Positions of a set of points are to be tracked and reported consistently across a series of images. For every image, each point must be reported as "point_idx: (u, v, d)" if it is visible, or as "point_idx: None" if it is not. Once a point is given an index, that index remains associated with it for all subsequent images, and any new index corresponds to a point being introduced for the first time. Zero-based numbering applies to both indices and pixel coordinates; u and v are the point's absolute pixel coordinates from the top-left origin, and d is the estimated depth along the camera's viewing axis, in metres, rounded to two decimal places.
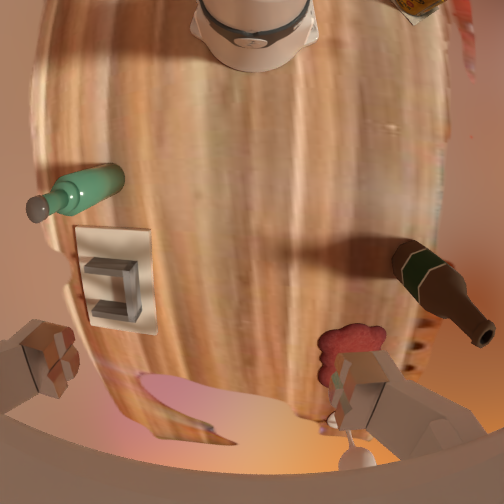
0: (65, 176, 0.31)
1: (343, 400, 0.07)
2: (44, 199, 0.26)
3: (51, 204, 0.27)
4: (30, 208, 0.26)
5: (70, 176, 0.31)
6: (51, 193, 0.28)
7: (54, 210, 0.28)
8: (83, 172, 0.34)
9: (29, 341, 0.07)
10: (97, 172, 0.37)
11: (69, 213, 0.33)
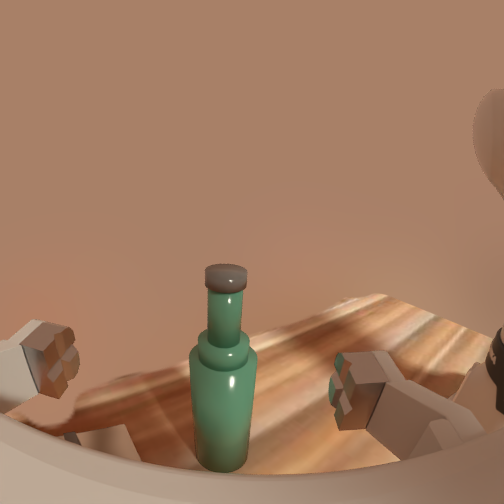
0: None
1: (343, 400, 0.07)
2: None
3: (236, 299, 0.20)
4: (223, 267, 0.21)
5: (253, 351, 0.23)
6: None
7: (223, 311, 0.20)
8: None
9: (29, 341, 0.07)
10: None
11: (196, 364, 0.21)
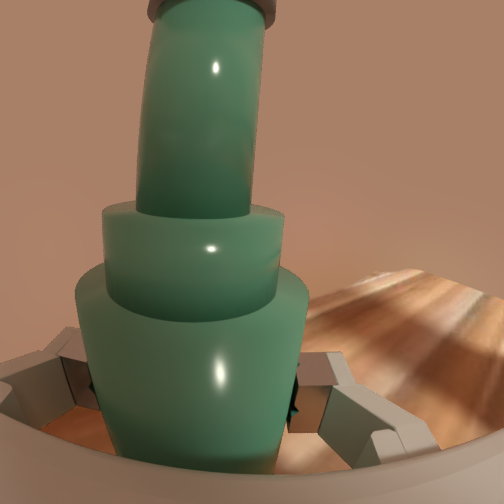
0: None
1: (292, 402, 0.07)
2: (275, 3, 0.05)
3: (244, 24, 0.04)
4: None
5: (289, 274, 0.08)
6: None
7: (194, 53, 0.04)
8: None
9: (68, 352, 0.07)
10: None
11: (91, 295, 0.05)
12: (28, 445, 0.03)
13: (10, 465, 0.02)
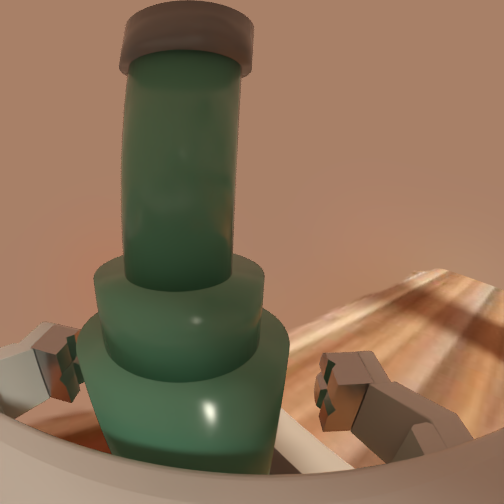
0: None
1: (327, 401, 0.07)
2: (251, 53, 0.05)
3: (216, 87, 0.05)
4: None
5: (273, 320, 0.08)
6: None
7: (165, 127, 0.05)
8: None
9: (41, 345, 0.07)
10: None
11: (91, 352, 0.06)
12: (28, 445, 0.03)
13: (10, 465, 0.02)
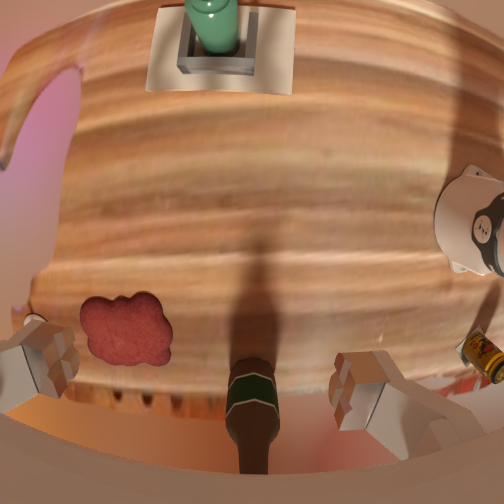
0: None
1: (343, 400, 0.07)
2: None
3: None
4: None
5: (234, 3, 0.22)
6: None
7: None
8: (235, 17, 0.25)
9: (29, 341, 0.07)
10: (232, 33, 0.28)
11: (188, 1, 0.22)
12: (28, 445, 0.03)
13: (10, 465, 0.02)
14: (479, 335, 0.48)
